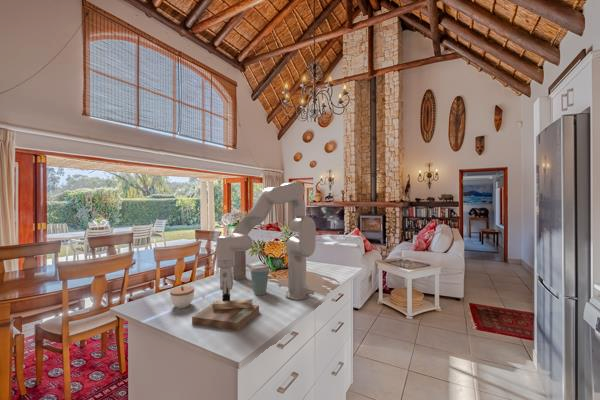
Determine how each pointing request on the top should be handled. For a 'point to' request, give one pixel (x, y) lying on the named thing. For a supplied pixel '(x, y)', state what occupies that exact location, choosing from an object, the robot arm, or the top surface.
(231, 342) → the top surface
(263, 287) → the disposable coffee cup
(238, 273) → the thermos bottle
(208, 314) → the brown wooden flat board
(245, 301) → the oak leg
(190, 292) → the lidded jar
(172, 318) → the top surface
